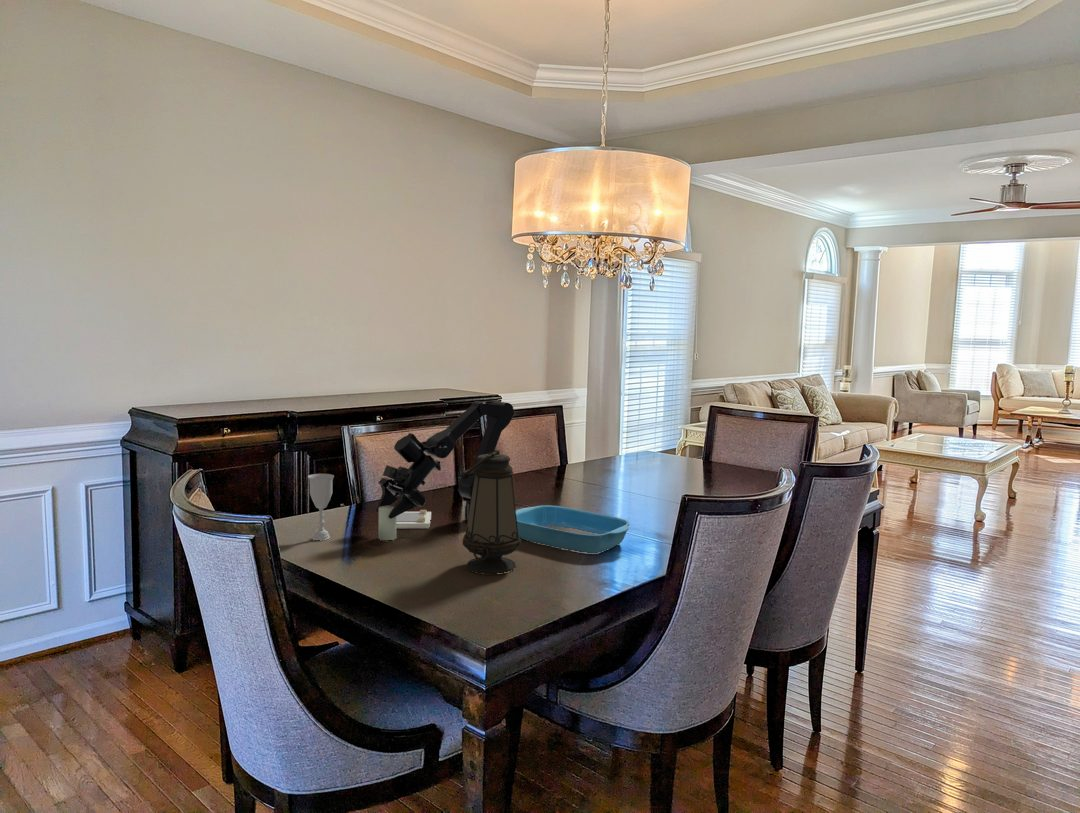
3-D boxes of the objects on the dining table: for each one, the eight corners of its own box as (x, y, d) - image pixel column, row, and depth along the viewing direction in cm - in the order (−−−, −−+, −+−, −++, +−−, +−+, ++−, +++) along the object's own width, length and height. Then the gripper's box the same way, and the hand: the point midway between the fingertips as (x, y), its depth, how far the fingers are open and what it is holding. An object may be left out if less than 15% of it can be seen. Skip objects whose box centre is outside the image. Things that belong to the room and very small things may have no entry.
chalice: (339, 537, 208) (339, 475, 206) (325, 543, 202) (324, 479, 200) (317, 533, 210) (317, 472, 208) (302, 540, 204) (302, 477, 202)
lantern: (509, 582, 176) (512, 459, 173) (450, 574, 180) (452, 455, 176) (529, 559, 194) (533, 447, 190) (475, 552, 197) (478, 443, 194)
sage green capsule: (400, 538, 209) (400, 507, 208) (387, 542, 205) (387, 511, 204) (387, 535, 211) (388, 504, 210) (374, 538, 207) (374, 508, 206)
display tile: (431, 516, 233) (431, 508, 233) (429, 528, 220) (429, 520, 219) (386, 516, 232) (386, 508, 231) (382, 528, 218) (382, 520, 218)
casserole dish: (494, 538, 213) (495, 514, 212) (539, 522, 231) (539, 500, 230) (603, 565, 191) (604, 538, 191) (642, 545, 209) (644, 521, 209)
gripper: (384, 450, 215) (349, 491, 209) (417, 460, 201) (381, 504, 195) (407, 473, 221) (374, 514, 215) (441, 484, 207) (406, 528, 201)
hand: (383, 515), depth 206 cm, fingers open, 7 cm apart
